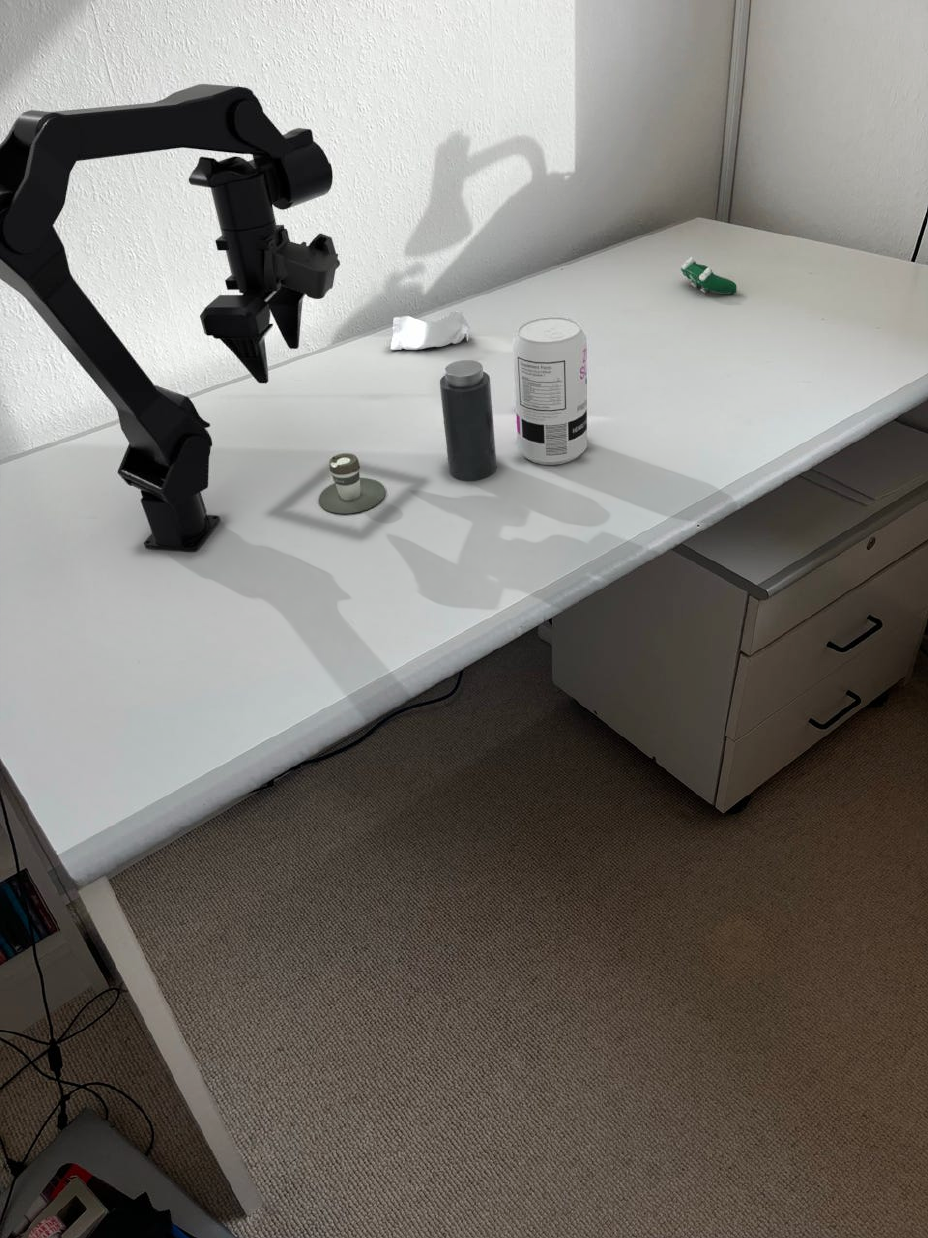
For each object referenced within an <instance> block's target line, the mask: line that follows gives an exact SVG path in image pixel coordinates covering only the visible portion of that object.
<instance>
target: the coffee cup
mask: <svg viewBox="0 0 928 1238" xmlns="http://www.w3.org/2000/svg"><path fill="white" fill-rule="evenodd" d="M328 467H329V468H328V469H329V471H330V473H331V476H332V481H333V483H332V484H330V485H328V486H327V487H326V488H324V489H323V490H322V491H321V492H320V494H319V496H318V504H319V506H320V507H321V508H322V509H323V510H325V511H326V512H329V513H332V514H337V515H352V514H359V513H362V512H365V511H368V510H370V509H373V508H374V507H376V506H378V505H379V504H380V503H381V502H382V501H383V499H384V497H385V496H386V487H385V486H384V485H383V483H381V482H380V481H378V480H376V479H372V478H370V477H369V478H368V477H360V476H361V475H360V469H361V465H360V461H359V458H358V457H357V456H356V455H355V454H353V453H347V452H345V453H343V452H342V453H338V454H336V455H333V456H332V457H331V458H330V459H329V465H328Z"/></svg>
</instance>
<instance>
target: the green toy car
mask: <svg viewBox="0 0 928 1238" xmlns="http://www.w3.org/2000/svg"><path fill="white" fill-rule="evenodd" d="M680 270H681V272H682V275H683V276H684V277H686V278H687V279H688V280H691V281H692V282H691V286H693V287H694V288H697V287H701V288H700V291H701V292H702V293H703V294H706V293H710V292H712V293H717V294H722V295H732V294H733V295H734V294H736V293H737V284H736V283H735V282H734V281H733V280H731V279H729V278H727V277H722V276H720V275H717V274H715V273H714V272H713V270H712V269H711V267H709V266H707V265H705V264H698V263H696V261H695V260H694V258H693V257H692V256H690V257H689V258H688V259H687V260H686V261H685V262H683V264H682V265H681V267H680Z"/></svg>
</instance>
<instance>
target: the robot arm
mask: <svg viewBox="0 0 928 1238" xmlns="http://www.w3.org/2000/svg"><path fill="white" fill-rule="evenodd" d="M174 149H193V150H199V151H200V150H203V151H210V152H219V153H230V154H239V155H251V156H252V159H251V160H246V159H245V158H243V157H241V156H235V155H234V156H231V157H227V158H224V159H222V160H217V159H215V158H214V157H207V156H199V158H198V162H197V165H196V167H195V168H194V169H193V170H192V171H191V174H190V176H189V177H188V183H189V184H190V185H191V186H196V187H197V186H198V187H204V188H207V189H209V188H210V191H211V196H212V200H213V204H214V208H215V212H216V216H217V221H218V224H219V228H220V229H219V230H220V234H221V235H220V236H219V237H217V238H216V239H215V240H214V241H215V246H216V250H217V251H225V253H226V257H227V262H228V266H229V269H230V270H229V271H230V274H231V275H229V276H228V277H227V278H226V279H224V282H225V286H226V290H228V291H238V292H239V294H219V295H218V296H217V297H215V298H214V299H213V300H212V301H211V302H209V303H208V305H206V306H205V307H204V309H203V310H202V312H201V313H200V315H199V319H200V321H201V326H202V329H203V333H204V335H206V336H207V337H208V336H209V337H212V338H213V339H216V340H220V341H221V342H222V343H223V344H224V345H225V346H226V347H227V348H228V349H229V350H230V351H231V353H232V354H233V355H235V357H236V358H237V359H238V360H239V361H240V363H241V364H242V365H243V366H244V367H245V368H246V370H247V371H248V372H249V373H250V374H251V376H252V377H253V378H254V379H255V381H256V382H257V383H258V384H267V383H269V366H268V359H267V349H266V342H265V338H266V337H267V335H268V334H269V332H270V331H271V329H273V327H274V323H270V321H271V315H272V317H273V319H274V320H273V321H274V322H275V324H276V326H277V328H278V330H279V332H280V334H281V336H282V338H283V340H284V342H285V344H286V345H287V347H288V349H290V350H297V349H299V347H300V338H301V337H300V336H301V322H302V311H303V301H304V298H305V296H307V297H308V298H310V299H315V300H321V299H323V298H325V296H326V294H327V293H328V292H329V290H332V289H333V288H334V282H335V276H336V270H337V269H338V268H339V267H340V265H341V262H340V260H339V253H337V251H336V247H335V245H334V241H333V237H332V236H328V235H326V234H323V233H318V234H317V235H316V236H315V237H314V238H313V239H312V240H311V242H310V243H309V244H308V245H307V242H306V241H302V242H301V243H297V242H294V241H291V240H290V236H289V232H288V231H289V230H288V229H287V228H285V224H277V222H276V216H275V212H274V207H275V208H276V209H278V210H282V211H283V210H288V209H291V208H293V207H296V206H298V205H301V204H304V203H306V202H309V201H313V200H315V199H317V198H320V197H323V196H325V195H327V194H328V193H329V192H330V191H331V188H332V186H333V178H334V175H333V166H332V164H331V162H329V160H328V157H327V155H326V152H325V151H324V149H322V147H321V146H320V145H319V144H318V143H317V142H316V141H314V135H313V130H312V129H311V128H305V127H304V128H303V127H296V128H293V129H291V130H289V131H287V132H286V133H285V134H282V132H281V131H280V129H278V128H277V126H276V125H275V124H274V123H273V121H271V119H270V118H269V117H268V116H267V114H265V112H264V109H263V106H262V104H261V102H260V100H259V98H258V97H257V96H256V94H254V91H253V90H252V89H251V88H248V87H244V86H239V85H238V86H235V85H223V84H222V85H221V84H210V83H209V84H208V83H199V84H196V85H193V86H190V87H186V88H184V89H181V90H178V91H175V92H173V93H171V94H170V95H168V96H166V97H165V98H163V99H159V100H157V101H154V102H144V103H133V104H123V105H111V106H101V107H90V108H78V109H68V110H55V111H46V110H45V111H44V110H38V109H37V110H33V109H30V110H26V111H23V112H22V113H21V114H20V115H19V116H18V117H17V118H16V120H14V123H13V124H12V125H11V128H10V130H9V131H8V133H7V135H6V137H5V138H4V140H3V141H1V143H0V280H1V281H2V282H3V283H5V284H6V285H8V286H9V287H11V288H12V289H13V290H15V291H16V292H18V293H19V294H20V295H21V296H23V297H24V298H25V299H26V300H27V302H28V303H29V304H30V305H31V306H32V308H33V309H34V311H36V313H37V314H38V315H39V316H40V317H41V319H42V320H43V321H44V322H45V324H46V325H47V326H48V327H49V328H50V330H51V331H52V332H53V333H54V335H55V336H56V337H57V338H58V340H59V341H60V342H61V343H62V344H63V346H65V348H66V349H67V350H68V351H69V353H70V354H71V355H72V356H73V358H74V359H75V360H76V361H77V362H78V364H79V365H80V366H81V367H82V369H83V371H85V372H86V373H87V375H88V376H89V377H90V378H91V379H92V381H93V382H94V383H95V384H96V386H97V387H98V388H99V389H100V391H101V392H102V393H103V394H104V395H105V396H106V398H107V399H108V400H109V402H111V404H112V405H113V407H114V408H115V410H116V411H117V417H118V420H119V425H120V430H121V431H122V433H123V435H124V437H125V438H126V440H127V442H128V444H127V446H126V450H125V452H124V455H123V457H122V459H121V462H120V465H119V467H118V468H117V475H119V477H120V478H121V479H122V480H123V482H125V484H127V485H128V486H130V487H134V488H136V489H138V490H140V494H141V498H140V503H141V506H142V508H143V512H144V515H145V517H146V520H147V523H148V526H149V528H150V531H151V533H150V535H149V536H148V537H147V538H146V539H145V540H144V542H143V546H144V548H145V549H153V550H155V549H156V550H167V551H168V550H171V551H184V552H197V551H198V550H199V549H200V548H201V547H202V545H203V544H204V542H205V541H206V540H207V539H208V537H209V536H210V535H211V534H212V532H213V531H214V529H215V528H216V527H217V526H218V524H219V523H220V522H221V517H220V515H217V514H216V515H215V514H207V508H206V505H205V502H204V498H203V495H202V492H203V491H205V490H207V489H208V487H209V471H210V470H209V469H210V468H209V467H210V456H211V450H212V449H211V448H212V446H213V439H212V437H211V434H210V433H209V431H208V430H207V428H209V427H210V426H211V423H209V422H208V421H206V420H204V419H203V418H202V416H201V415H200V414H199V412H198V410H197V408H196V406H195V404H194V402H193V401H192V400H191V398H189V396H186V395H183V394H181V393H178V392H175V391H173V390H170V389H168V388H165V387H162V386H160V385H157V384H154V383H153V381H152V380H151V379H150V377H149V376H148V375H147V374H146V372H145V371H144V369H143V368H142V367H141V365H140V364H139V363H138V361H136V359H135V358H134V356H133V354H132V353H131V352H130V351H129V350H128V348H127V347H126V346H125V344H124V343H123V342H122V340H121V339H120V338H119V336H118V335H117V334H116V333H115V331H114V330H113V329H112V327H111V326H110V324H109V323H108V322H107V321H106V319H105V318H104V317H103V315H102V314H101V313H100V311H98V308H97V307H96V305H94V303H93V302H92V301H91V300H90V298H89V297H88V296H87V294H86V293H85V292H84V290H83V289H82V288H81V287H80V285H79V284H78V283H77V282H76V281H77V280H75V279H74V277H73V275H72V273H71V270H70V265H69V261H68V256H67V253H66V248H65V245H64V243H63V241H62V240H61V238H60V236H59V234H58V232H57V230H56V228H55V226H54V225H55V223H56V221H57V219H58V218H59V216H60V214H61V212H62V210H63V209H64V206H65V203H66V198H67V192H68V187H69V183H70V176H71V172H72V170H73V169H74V167H75V165H76V163H77V162H81V161H88V160H89V161H90V160H97V159H106V158H112V157H120V156H127V155H128V156H129V155H137V154H142V153H143V154H145V153H151V152H159V151H168V150H174Z"/></svg>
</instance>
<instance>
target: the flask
mask: <svg viewBox="0 0 928 1238" xmlns="http://www.w3.org/2000/svg"><path fill="white" fill-rule="evenodd" d="M491 388H492V387H491V377H490V375H489V373H487V372H485V371H484V367H483V364H482V363H481V362H479V361H477V360H473V359H463V360H457V361H453V362H451V363H449V364H448V365H446V366H445V368H444V375H443V376H442V377H440V380H439V390H440V391H439V392H440V400H441V401H440V402H441V409H442V417H443V418H442V419H443V427H444V437H445V445H446V453H447V463H448V472H449V474H450V475H451V476H452V477H453V478H455V479H458V480H460V481H461V480H462V481H466V482H467V481H471V482H472V481H478V480H482V479H486V478H487V477H490V476H492V475H493V474H495V472H496V470H497V456H496V455H497V454H496V453H497V452H496V441H495V440H496V439H495V429H494V427H495V426H494V415H493V414H494V413H493V400H492V399H493V398H492V389H491Z"/></svg>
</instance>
